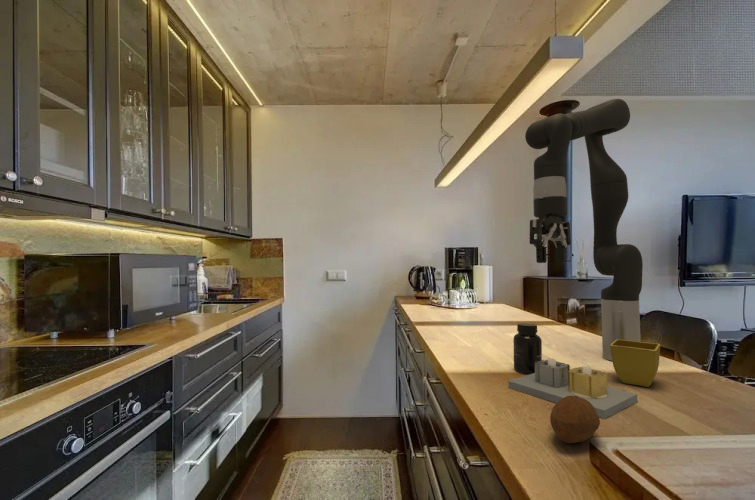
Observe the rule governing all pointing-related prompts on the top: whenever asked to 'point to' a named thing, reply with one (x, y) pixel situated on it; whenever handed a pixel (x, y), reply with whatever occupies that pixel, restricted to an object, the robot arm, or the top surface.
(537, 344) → the supplement bottle
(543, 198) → the robot arm
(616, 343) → the flower pot
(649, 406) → the top surface
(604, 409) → the pegboard
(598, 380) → the brass gear
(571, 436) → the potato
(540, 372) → the steel gear
